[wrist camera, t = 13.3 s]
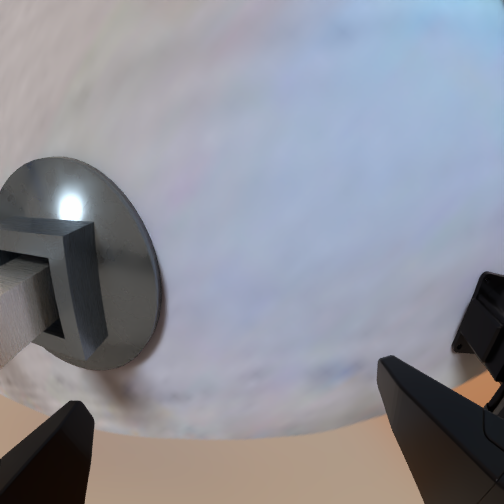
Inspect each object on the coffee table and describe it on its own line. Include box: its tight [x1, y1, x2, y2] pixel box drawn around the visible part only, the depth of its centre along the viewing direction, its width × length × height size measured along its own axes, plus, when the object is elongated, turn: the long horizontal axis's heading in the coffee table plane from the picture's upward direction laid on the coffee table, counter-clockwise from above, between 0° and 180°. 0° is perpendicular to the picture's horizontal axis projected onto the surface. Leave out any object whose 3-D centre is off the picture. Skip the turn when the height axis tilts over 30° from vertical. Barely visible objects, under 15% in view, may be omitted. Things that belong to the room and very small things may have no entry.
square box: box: [0, 254, 60, 369], centre depth 16 cm, size 4×4×12 cm
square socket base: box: [0, 157, 161, 370], centre depth 20 cm, size 18×18×4 cm
